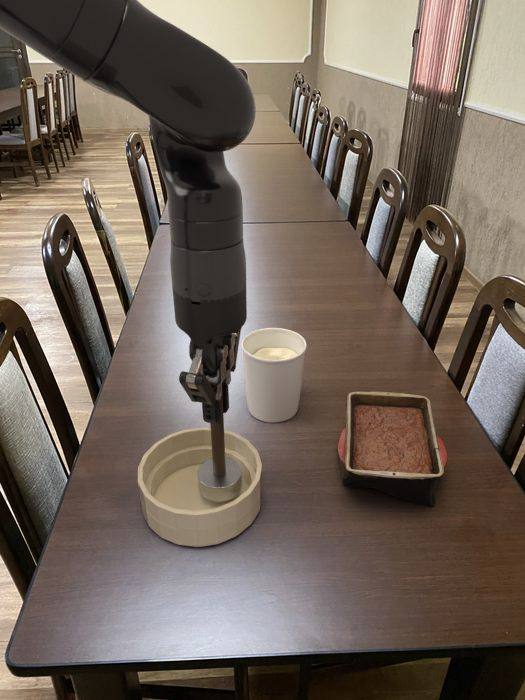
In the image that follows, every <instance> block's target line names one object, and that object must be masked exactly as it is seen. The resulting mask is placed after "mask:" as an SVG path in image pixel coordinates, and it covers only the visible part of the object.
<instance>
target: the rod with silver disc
mask: <svg viewBox="0 0 525 700" xmlns="http://www.w3.org/2000/svg"><path fill="white" fill-rule="evenodd" d="M210 385H211V387H212V388H214V385H213V384H212V383H210ZM222 410H223V393H222ZM224 417H225V416H223V420H222V421H221V423H220V424H213V423H209V426H210V428H211V443H212V458H211V459H209V460H207V461H205V462H204V463H202V464H201V466H200V467H199V469H198V473H197V475H198V487H199V491H200V493H201V495H202V496H203V497H205V498H206V499H208V500H211V501H215V502H222V501H227V500H230V499H232V498H234V497H235V496H236V495H237V494H238V493H239V492H240V490H241V488H242V470H241V467H240V465H239V464H238V463H237V462H236V461H235V460H233V459H230V458H227V457H225V440H224V430H225V419H224Z"/></svg>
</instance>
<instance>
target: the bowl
mask: <svg viewBox="0 0 525 700" xmlns="http://www.w3.org/2000/svg"><path fill="white" fill-rule="evenodd" d="M224 440H225V457H227V458H230V459H233V460H235V461H236V462H237V463H238V464H239V465H240V467H241V470H242V488H241V490H240V492H239V493H238V494H237V495H236V496H235V497H234V498H232V499H230V500H227V501H222V502H215V501H211V500H208V499H206V498H205V497H203V496H202V495H201V493H200V491H199V487H198V475H197V473H198V469H199V467H200V466H201V464H202V463H204V462H205V461H207V460H209V459H211V458H212V443H211V427H207V426H202V427H193V428H192V427H191V428H186V429H183V430H180V431H176V432H174V433H170V434H168V435H166V436H165V437H163V438H162V439H160V440H158V441H156V442H155V443H154V444H152V446H151V447H150V448H149V449H148V450H147V451H146V452H145V453H144V454H143V456H142V458H141V460H140V462H139V465H138V466H137V485H138V492H139V498H140V505H141V512H142V515H143V518H144V519H145V522H146V523H147V527H149V528H150V529H151V530H152V531H153V532H154V533H156V535H158V536H159V537H160V538H161V539H164V540H166V541H168V542H171V543H173V544H174V545H179V546H185V547H195V548H199V547H207V546H213V545H219V544H221V543H224V542H226V541H229V540H231V539H233V538H235V537H237V536H239V535H240V534H241V533H242V532H244V531H245V530H246V529H247V528H248V527H249V526H251V525H252V524H253V522H254V520H255V519H256V517H257V515H258V514H259V513H260V510H261V504H262V497H263V463H262V460H261V457H260V452H259V451H258V450H257V449H256V447H255V446H254V445H253V444H252V443H251V441H249V440H248V439H247V438H245V437H244V436H241V435H240V434H239V433H237V432H233V431H230V430H227V429H224Z"/></svg>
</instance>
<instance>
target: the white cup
mask: <svg viewBox="0 0 525 700" xmlns="http://www.w3.org/2000/svg"><path fill="white" fill-rule="evenodd" d="M240 346H241V353H242V364H243V375H244V376H243V377H244V387H245V400H246V407H247V411H248V413H249V414H250V415H251V416H252V417H253V418H255V419H257V420H258V421H261V422H265V423H274V424H275V423H283V422H286V421H288V420H290V419H292V418H294V416H295V415H296V414H297V413H298V412H299V411H298V410H299V407H300V400H301V393H302V384H303V375H304V367H305V361H306V360H305V359H306V351H307V347H308V345H307V341H306V339H305V338H304V337H303V336H302V334H300V333H298V332H296V331H294V330H290V329H288V328H283V327H282V328H281V327H265V328H259V329H256V330H252V331H251V332H249V333H247V334H246V335H245V336H244V337H243V339H242V340H241V345H240Z"/></svg>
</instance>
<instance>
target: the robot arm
mask: <svg viewBox="0 0 525 700" xmlns="http://www.w3.org/2000/svg"><path fill="white" fill-rule="evenodd" d="M0 29H1V30H2V31H4V32H5V33H7V34H8V35H10V36H11V37H13V38H15V39H16V40H17V41H19V42H20V43H22V44H24V45H25V46H27V47H28V48H30V49H31V50H33V51H34V52H36V53H38V54H39V55H41V56H42V57H43V58H45V59H47V60H49V61H50V62H52V63H54V64H55V65H57V66H59V67H60V68H61V69H63V70H65V71H66V72H68V73H69V74H71V75H73V76H74V77H76V78H77V79H80V80H81V81H82V82H84V83H86V84H88V85H90V86H92V87H93V88H94V89H97V90H99V91H101V92H104V93H106V94H108V95H111V96H113V97H116V98H119V99H121V100H123V101H125V102H127V103H129V104H131V105H133V106H134V107H135V108H137V109H138V110H140V111H141V112H143V113H144V114H146V115H148V121H149V127H150V133H151V137H152V141H153V146H154V150H155V153H156V156H157V157H156V158H157V162H158V165H159V169H160V173H161V177H162V180H163V182H164V185H165V190H166V197H167V213H168V224H169V237H170V253H169V254H170V256H169V260H170V261H169V266H170V277H171V278H170V279H171V288H172V300H173V310H174V320H175V324H176V326H177V328H178V329H180V330H181V331H182V332H184V334H186V335H187V336H188V337H189V339H190V340H189V341H190V342H189V345H188V356H189V359H190V360H191V363H190V367H189V370H188V371H183V370H182V371H180V373H179V376H178V382H179V384H180V385H181V387H182V388H183V390H184V392H185V393H186V395H187V396H188V398H189V399H190V401H191V402H193V403H201V407H202V410H201V411H202V420H203V421H204V422H205V423H209V424H210V423H213V424H220V423H221V421H222V420H223V417H224V414H226V413H227V412H228V411H229V409H230V395H229V394H230V393H229V385H230V384H231V382H232V373H234V372H235V370H236V368H237V360H238V354H239V353H238V352H239V348H240V347H239V345H240V339H241V332H242V328H243V327H244V325H245V324H246V322H247V318H248V310H247V306H248V305H247V304H248V303H247V259H246V258H247V257H246V252H245V251H246V250H245V245H244V213H243V212H244V211H243V210H244V208H243V207H244V206H243V195H242V190H241V189H242V188H241V186H240V183H239V182H238V181H237V179H236V178H235V177H234V176H233V175H232V173H231V172H230V171H229V169H228V166H227V165H226V159H225V154H224V153H225V152H227V151H231V150H232V149H233V150H234V149H235V148H236V147H238V146H239V145H241V144H242V143H243V142H244V141H245V140H246V139H247V138H248V136H249V135H250V133H251V132H252V130H253V127H254V124H255V120H256V115H257V114H256V113H257V112H256V111H257V110H256V109H257V107H256V106H257V105H256V100H255V99H256V98H255V95H254V92H253V90H252V87H251V85H250V83H249V81H248V79H247V78H246V77H245V75H244V74H243V73H242V72H241V70H240V69H239V68H238V67H237V65H235V64H233V63H232V61H230V60H229V59H228V58H226V57H225V56H224V55H223V54H222V53H219V52H218V51H216V50H215V49H214V48H212V47H210V46H209V45H207V44H206V43H204V42H202V41H201V40H199V39H197V38H196V37H194V36H193V35H191V34H190V33H188V32H186V31H185V30H183V29H181V28H179V27H178V26H176V25H174V24H173V23H171V22H169V21H167V20H165V19H163V18H162V17H160V16H158V15H157V14H155V13H154V12H153V11H151V10H150V9H148V8H147V7H146V6H144V5H143V4H142V3H141V2H140V1H139V0H0ZM210 383H212V384H213V385H214V388H212V387H211V385H210ZM222 393H223V410H222Z"/></svg>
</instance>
